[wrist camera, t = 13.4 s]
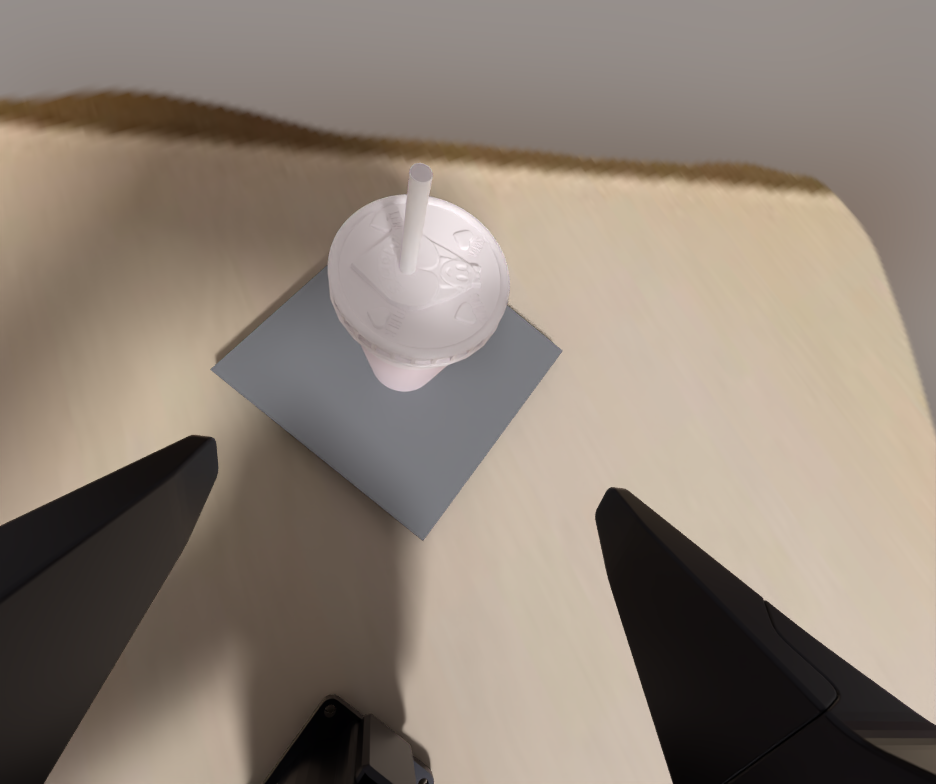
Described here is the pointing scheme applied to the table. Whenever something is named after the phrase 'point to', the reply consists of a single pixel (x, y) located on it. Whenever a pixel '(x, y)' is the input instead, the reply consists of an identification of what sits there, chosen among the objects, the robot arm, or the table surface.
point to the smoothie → (416, 283)
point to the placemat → (385, 402)
